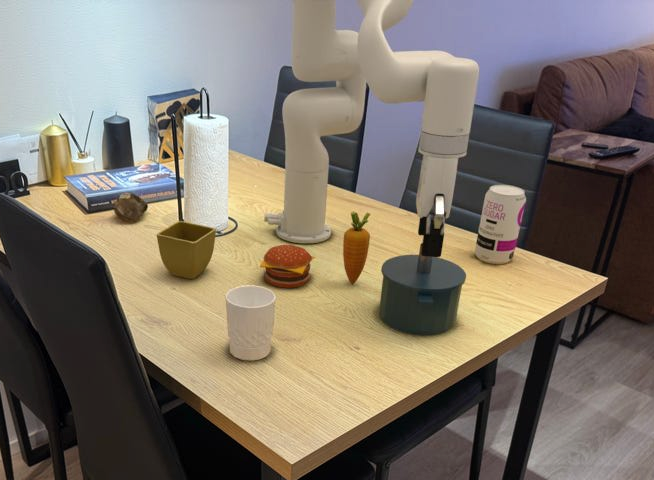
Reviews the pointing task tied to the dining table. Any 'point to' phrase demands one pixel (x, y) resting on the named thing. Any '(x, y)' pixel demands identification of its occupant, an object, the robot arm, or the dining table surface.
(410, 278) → the pot lid
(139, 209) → the fossilized seashell
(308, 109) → the robot arm
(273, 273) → the hamburger
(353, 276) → the carrot
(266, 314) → the white cup
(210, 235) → the flower pot
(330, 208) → the dining table surface
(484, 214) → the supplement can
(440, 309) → the pot
